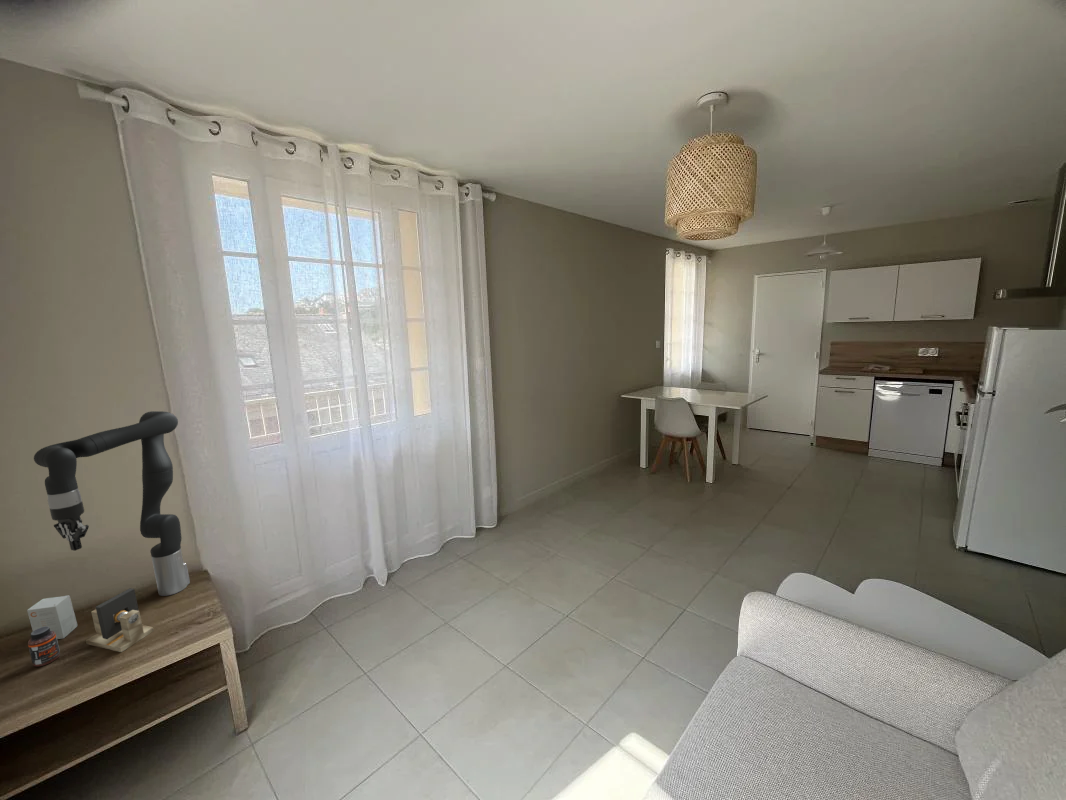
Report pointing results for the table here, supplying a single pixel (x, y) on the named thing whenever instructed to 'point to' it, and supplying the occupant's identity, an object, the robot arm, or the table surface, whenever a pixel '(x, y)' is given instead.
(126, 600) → the dark grey flat block
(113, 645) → the pipe stand
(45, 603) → the small box
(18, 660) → the table surface
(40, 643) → the supplement bottle
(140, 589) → the table surface
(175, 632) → the table surface
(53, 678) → the table surface
